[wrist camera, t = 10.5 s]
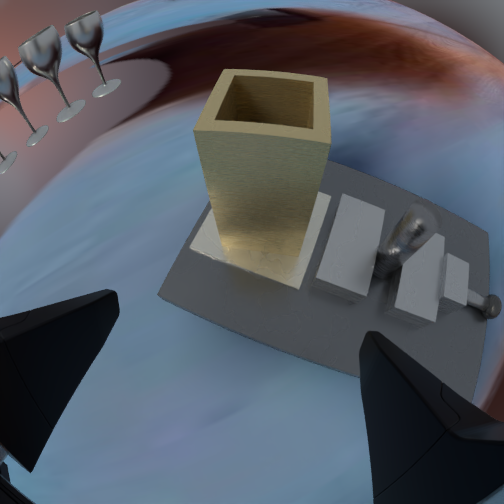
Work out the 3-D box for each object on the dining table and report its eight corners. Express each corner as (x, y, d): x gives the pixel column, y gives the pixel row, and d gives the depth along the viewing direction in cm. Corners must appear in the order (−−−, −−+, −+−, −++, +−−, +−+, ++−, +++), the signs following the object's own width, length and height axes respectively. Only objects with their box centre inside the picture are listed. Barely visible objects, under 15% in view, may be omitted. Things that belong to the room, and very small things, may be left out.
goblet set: (115, 75, 30) (91, 1, 18) (128, 85, 28) (101, 0, 16) (-29, 191, 23) (-76, 137, 11) (-31, 215, 21) (-86, 158, 9)
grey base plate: (468, 404, 13) (538, 400, 6) (162, 299, 17) (110, 252, 10) (486, 241, 18) (534, 198, 12) (250, 145, 22) (247, 73, 16)
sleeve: (298, 256, 16) (331, 143, 8) (222, 246, 17) (193, 130, 9) (304, 194, 18) (327, 78, 10) (236, 186, 19) (224, 69, 11)
